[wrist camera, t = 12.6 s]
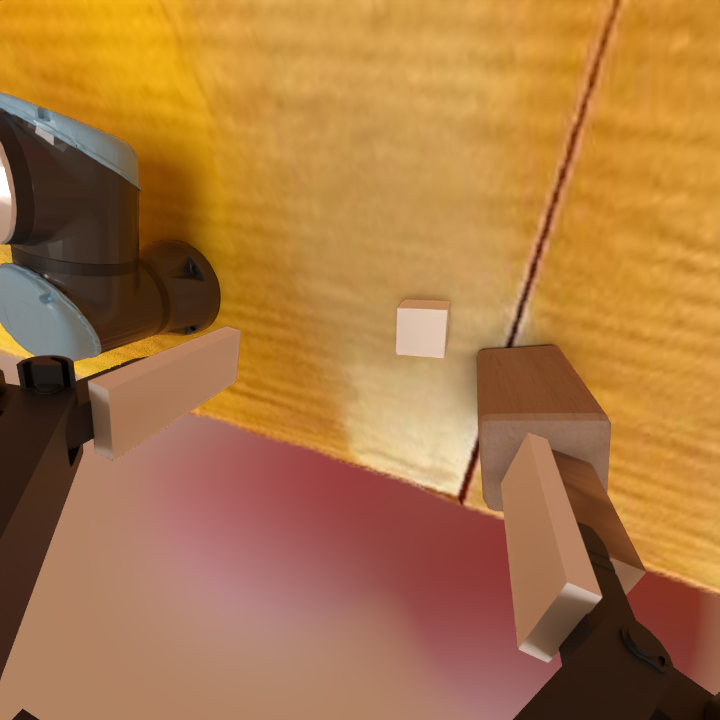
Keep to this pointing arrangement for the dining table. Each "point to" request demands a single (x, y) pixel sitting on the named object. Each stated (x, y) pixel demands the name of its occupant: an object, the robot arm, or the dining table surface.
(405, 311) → the pale pink cube
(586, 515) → the walnut block
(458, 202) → the dining table surface
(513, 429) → the block
